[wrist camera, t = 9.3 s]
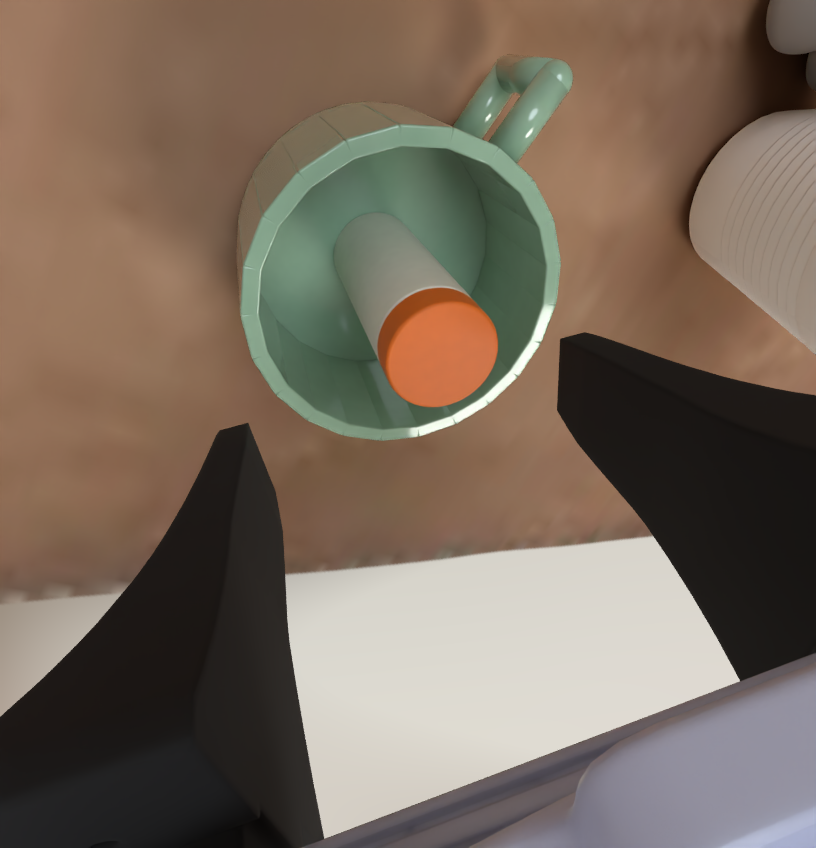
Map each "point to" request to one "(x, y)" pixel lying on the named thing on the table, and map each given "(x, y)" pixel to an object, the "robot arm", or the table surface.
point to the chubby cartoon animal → (794, 31)
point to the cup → (764, 217)
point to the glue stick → (414, 313)
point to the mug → (427, 220)
